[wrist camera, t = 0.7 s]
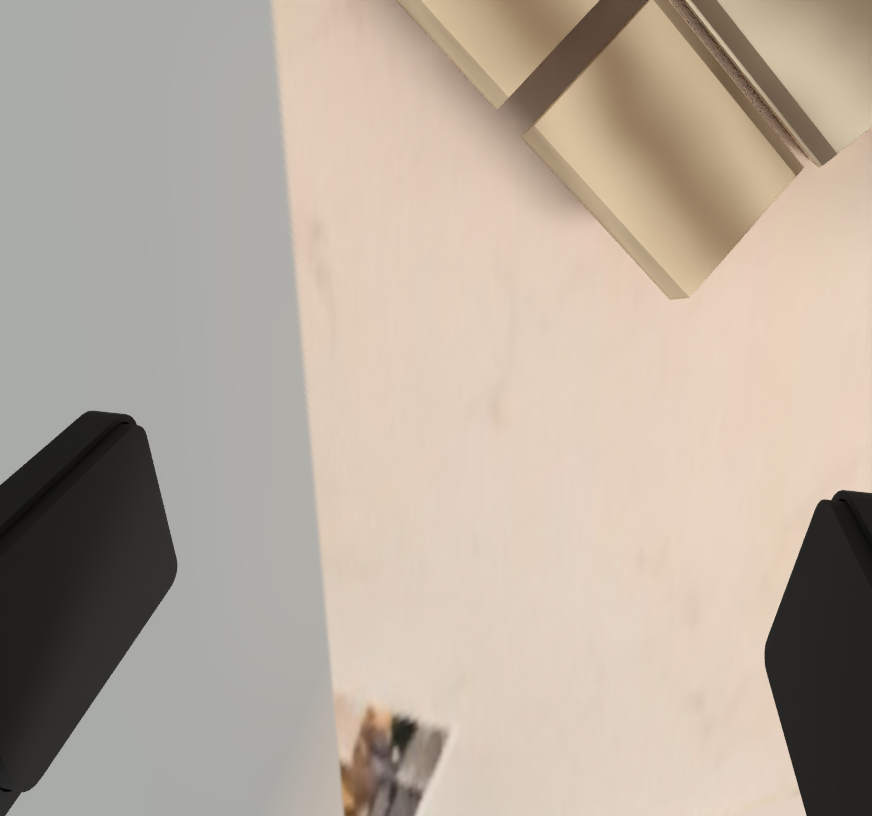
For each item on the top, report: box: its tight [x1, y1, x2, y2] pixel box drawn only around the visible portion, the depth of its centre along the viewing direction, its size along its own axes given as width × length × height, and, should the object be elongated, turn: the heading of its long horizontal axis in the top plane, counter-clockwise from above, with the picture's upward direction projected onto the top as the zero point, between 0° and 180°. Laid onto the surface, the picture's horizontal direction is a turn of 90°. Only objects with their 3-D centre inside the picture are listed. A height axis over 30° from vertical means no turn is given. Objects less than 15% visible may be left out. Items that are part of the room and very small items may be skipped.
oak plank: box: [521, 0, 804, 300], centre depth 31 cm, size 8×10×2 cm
